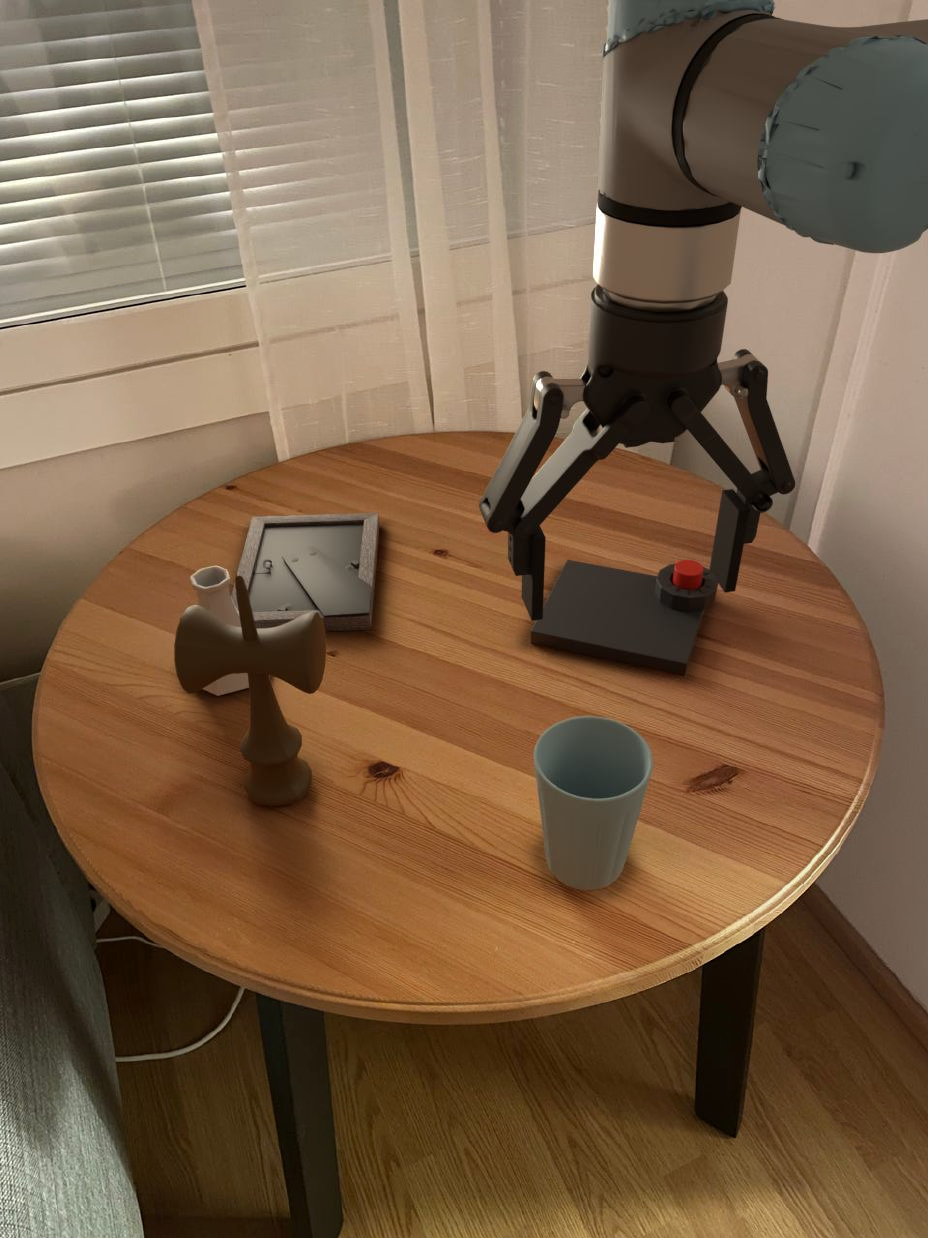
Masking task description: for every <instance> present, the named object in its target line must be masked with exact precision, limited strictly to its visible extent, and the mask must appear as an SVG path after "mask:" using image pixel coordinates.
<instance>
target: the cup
mask: <svg viewBox="0 0 928 1238" xmlns="http://www.w3.org/2000/svg"><path fill="white" fill-rule="evenodd" d="M533 764H534V773H535V780H536V781H535V782H536V787H537V789H536V790H537V796H538V804H539V813H540V821H541V828H542V829H541V831H542V837H543V844H544V845H543V846H544V853H545V860H546V864H547V867H548V869H549V871H550V873H551V874H552V876H553V877H554V878H556V880H558V881H559V882H560V883H561V884H563V885H564V886H567V887H569V888H572V889H574V890H578V891H596V890H602V889H605V888H607V887H609V886H610V885H612V884H614V883H615V882H616V881H617V880H618V878H619V877H620V875H621V874H622V872H623V870H624V868H625V865H626V861H627V858H628V855H629V851H630V848H631V844H632V841H633V837H634V834H635V831H636V827H637V824H638V821H639V817H640V813H641V810H642V807H643V804H644V800H645V796H646V793H647V790H648V786H649V784H650V778H651V776H652V773H653V770H654V758H653V753H652V750H651V748H650V746H649V744H648V743H647V740H645V739H644V737H643V736H642V735H641V734H640V733H638V731H636V730H635V729H633V728H632V727H630V726H628V725H627V724H625V723H623V722H620V721H618V720H615V719H612V718H609V717H603V716H596V715H583V716H574V717H569V718H566V719H563V720H560V721H558V722H556V723H554V724H553V725H551V726H549V727H548V728H547V729H546V730H544V732H543V733H542V734H541V735H540V736H539V737H538V739H537V741H536V743H535V746H534V749H533Z"/></svg>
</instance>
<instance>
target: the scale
mask: <svg viewBox="0 0 928 1238" xmlns="http://www.w3.org/2000/svg"><path fill="white" fill-rule="evenodd" d="M675 564H676V563H671V564H668V565H666V566H664V567H663V568H661V569H659V570H658V573H657V575H652V574H646V573H643V572H637V571H631V570H625V569H620V568H615V567H609V566H605V565H599V564H594V563H588V562H582V561H577V560H571V559H566V561H565V563H564V565H563V567H562V569H561V571H560V572H559V575H558V577H557V579H556V580H555V583H554V585H553V586H552V589H551V591H550V592H549V594H548V596H547V598H546V600H545V603H543V619H542V620H535V622H534V624H533V626H532V628H531V630H530V644H534V645H540V646H543V647H548V648H554V649H558V650H561V651H562V650H563V651H567V652H573V653H576V654H581V655H585V656H591V657H595V658H601V659H605V660H609V661H615V662H619V663H624V664H629V665H633V666H638V667H642V668H648V669H652V670H657V671H662V672H666V673H671V674H675V675H680V676H686V674H687V671H688V668H689V665H690V661H691V658H692V655H693V651H694V649H695V644H696V641H697V638H698V634H699V632H700V628H701V625H702V621H703V618H704V615H705V611H706V610H707V608H709V607H710V606H712V605H714V604H715V602H716V598H717V593H718V587H719V584H718V582H717V581H716V579H715V578H714V576H713V575H712V573H711V572H710V571H709V569H708V568H707V567H705V566H703V576H702V583H701V586H700V587H699V588H698V589H694V590H685V589H680V588H678V587H676V586H675V585H674V584H673V575H674V567H675Z"/></svg>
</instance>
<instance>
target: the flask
mask: <svg viewBox="0 0 928 1238" xmlns="http://www.w3.org/2000/svg"><path fill="white" fill-rule="evenodd" d="M189 578H190V579H189V580H190V582H191V585H192V588H193V589H194V591H196V593H197V605H199V606H201V607H203V608H205V609H206V610H208V611H209V612H211V613H212V614H214V615H215V616H217V617H218V618H220V619H221V620H223V621H224V622H226V623H228V624H230V625H232V626H235V627H241V623H240V616H239V611H238V610H237V608H236V607H235V605H234V603H233V600H232V598H231V592H230V587H229V585H230V584H231V583H232V580H231V576H230V573H229V570H228V569H226V568H224V567H221V566H218V565H212V566H208V567H203V568H200V569H199V570H197V571H195V573H193V574H192V575H190V576H189ZM245 689H249V683H248V673H240V674H235V673H234V674H229V675H226V676H224V677H222V678H220V679H218V680H216V681H215V682H213V683H211V684H209V685H208V686H206V687H205V688H203V689H202V690H203V691H206V692H208V693H210V694H213V695H215V696H217V697H218V696H222V695H225V694H226V695H227V694H230V693H234V692H238V691H241V690H245Z"/></svg>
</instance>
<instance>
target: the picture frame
mask: <svg viewBox="0 0 928 1238" xmlns="http://www.w3.org/2000/svg"><path fill="white" fill-rule="evenodd" d="M379 535H380V516H379V512H361V513H360V512H357V513H356V512H355V513H353V512H352V513H327V514H325V513H324V514H323V513H322V514H296V515H294V514H293V515H291V514H290V515H266V516H252V517H251V520H250V524H249V529H248V531H247V535H246V539H245V543H244V547H243V550H242V554H241V557H240V561H239V565H238V569H237V572H236V576H237V575H241V576H242V577H243V579H244V581H245V584H246V588H247V591H248V595H249V599H250V603H251V608H252V612H253V616H254V620H255V625H256V628H257V629H263V628H273V627H277V626H281V625H283V624H286V623H288V622H290V621H292V620H294V619H296V618H298V617H300V616H302V615H304V614H306V613H309V612H312V611H316V612H318V613H319V615H320V617H321V618H322V620H323V624H324V628H325V632H346V631H347V632H348V631H349V632H351V631H372V623H373V610H374V600H375V599H374V597H375V584H376V575H377V574H376V573H377V560H378V549H379V537H380V536H379ZM230 596H231V598H232V600H233V603H234V605H235V607H236V608H237V610H238V604H237V597H236V589H235V582H234V584H233V587H232V591H231V594H230ZM238 611H239V610H238Z"/></svg>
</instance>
